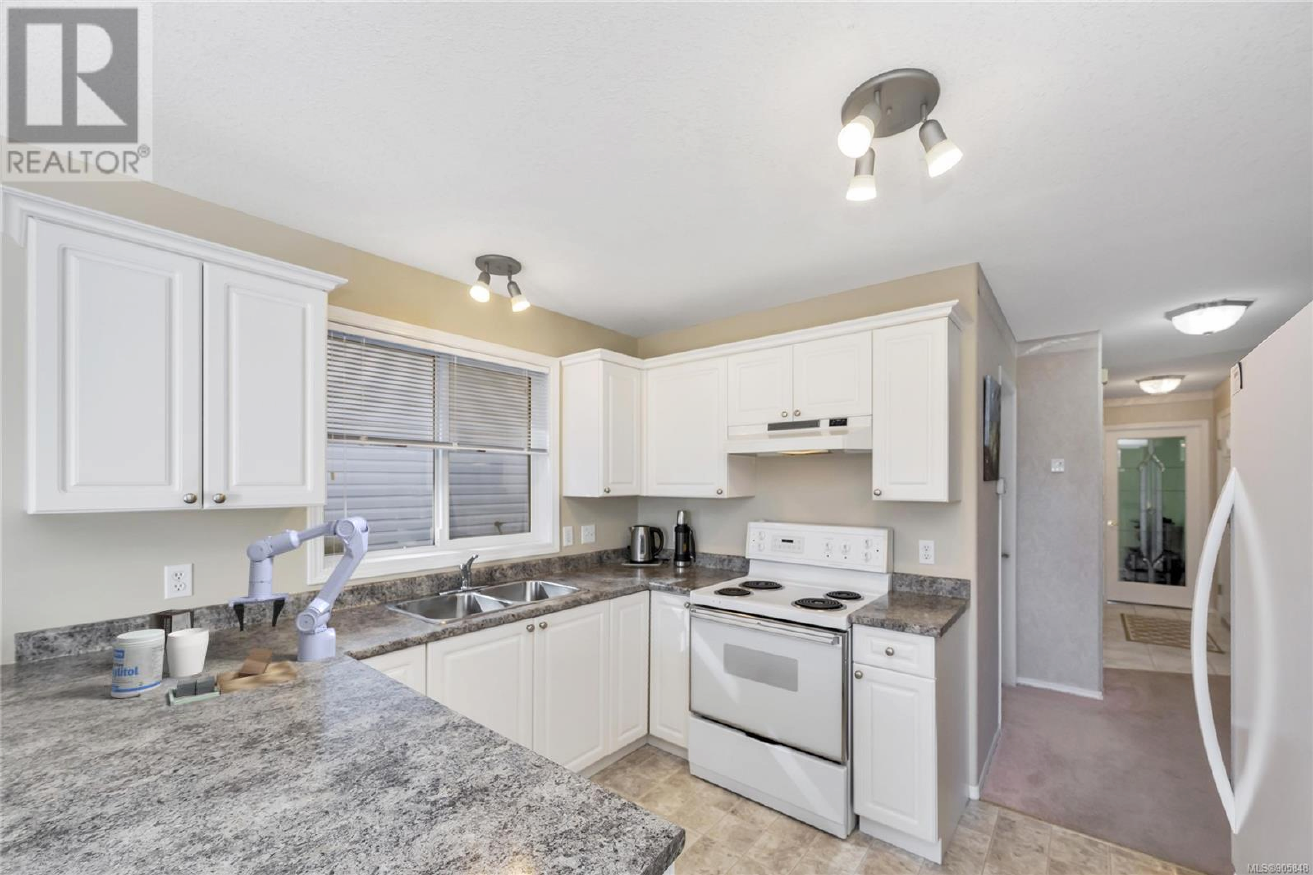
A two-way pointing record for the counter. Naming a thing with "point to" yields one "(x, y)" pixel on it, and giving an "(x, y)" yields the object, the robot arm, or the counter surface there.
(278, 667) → the slot board
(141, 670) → the supplement tub
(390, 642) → the counter surface
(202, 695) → the tray
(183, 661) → the cup
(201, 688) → the grey cube
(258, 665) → the brown wooden block
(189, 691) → the dark grey cube
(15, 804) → the counter surface
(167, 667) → the coffee box
